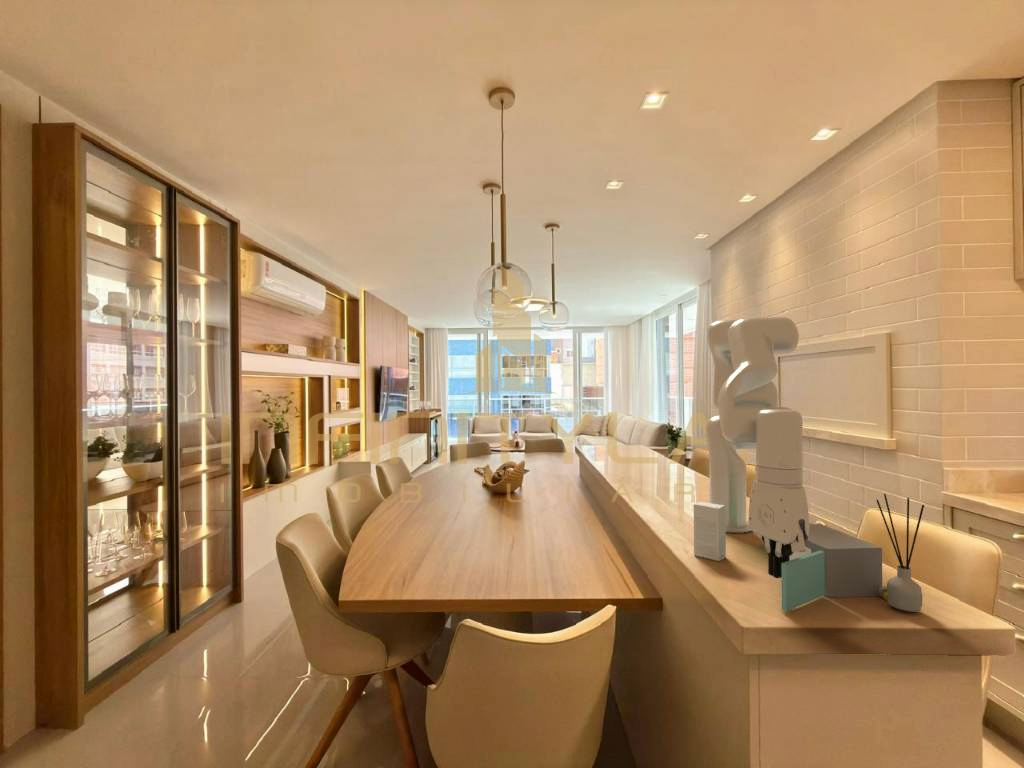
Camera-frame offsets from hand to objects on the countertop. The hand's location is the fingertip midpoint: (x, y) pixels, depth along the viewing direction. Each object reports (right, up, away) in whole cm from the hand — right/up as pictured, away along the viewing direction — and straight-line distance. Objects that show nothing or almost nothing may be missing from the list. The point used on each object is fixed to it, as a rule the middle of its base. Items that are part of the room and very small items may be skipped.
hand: (778, 575), depth 88 cm
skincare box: (-3, -5, +23) cm, 24 cm away
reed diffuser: (+19, -5, -3) cm, 20 cm away
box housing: (+14, -5, +9) cm, 18 cm away
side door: (+3, -4, -2) cm, 6 cm away
